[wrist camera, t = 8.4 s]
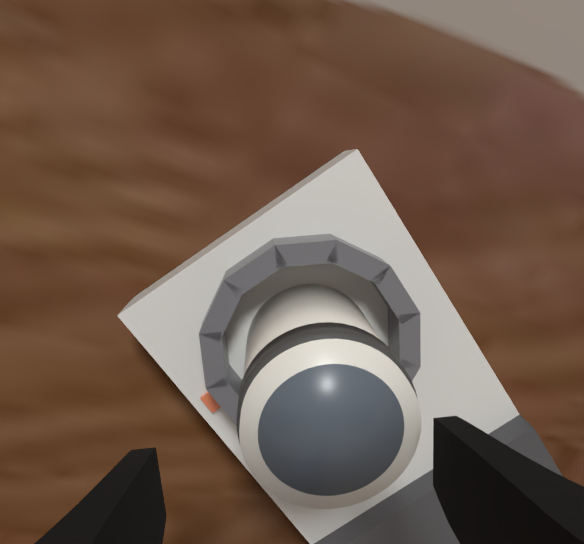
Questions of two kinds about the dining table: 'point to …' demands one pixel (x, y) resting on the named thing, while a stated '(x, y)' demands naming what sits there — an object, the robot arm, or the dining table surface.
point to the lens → (323, 402)
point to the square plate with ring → (375, 306)
